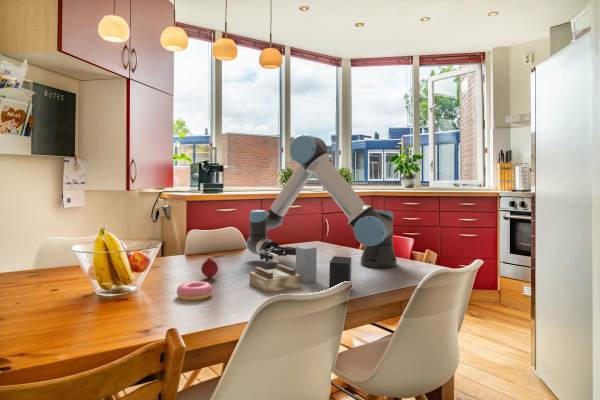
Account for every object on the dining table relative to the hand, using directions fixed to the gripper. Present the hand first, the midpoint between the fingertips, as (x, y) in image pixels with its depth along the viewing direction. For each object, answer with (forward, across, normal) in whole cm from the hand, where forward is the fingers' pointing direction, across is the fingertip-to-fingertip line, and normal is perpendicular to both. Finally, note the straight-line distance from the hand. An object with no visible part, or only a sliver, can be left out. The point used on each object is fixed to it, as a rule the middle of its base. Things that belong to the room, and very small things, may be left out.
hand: (293, 257), depth 151 cm
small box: (+26, -2, -7) cm, 27 cm away
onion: (-12, +29, -7) cm, 32 cm away
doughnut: (+8, +40, -7) cm, 41 cm away
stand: (+9, +13, -7) cm, 17 cm away
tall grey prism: (+8, 0, -7) cm, 11 cm away
